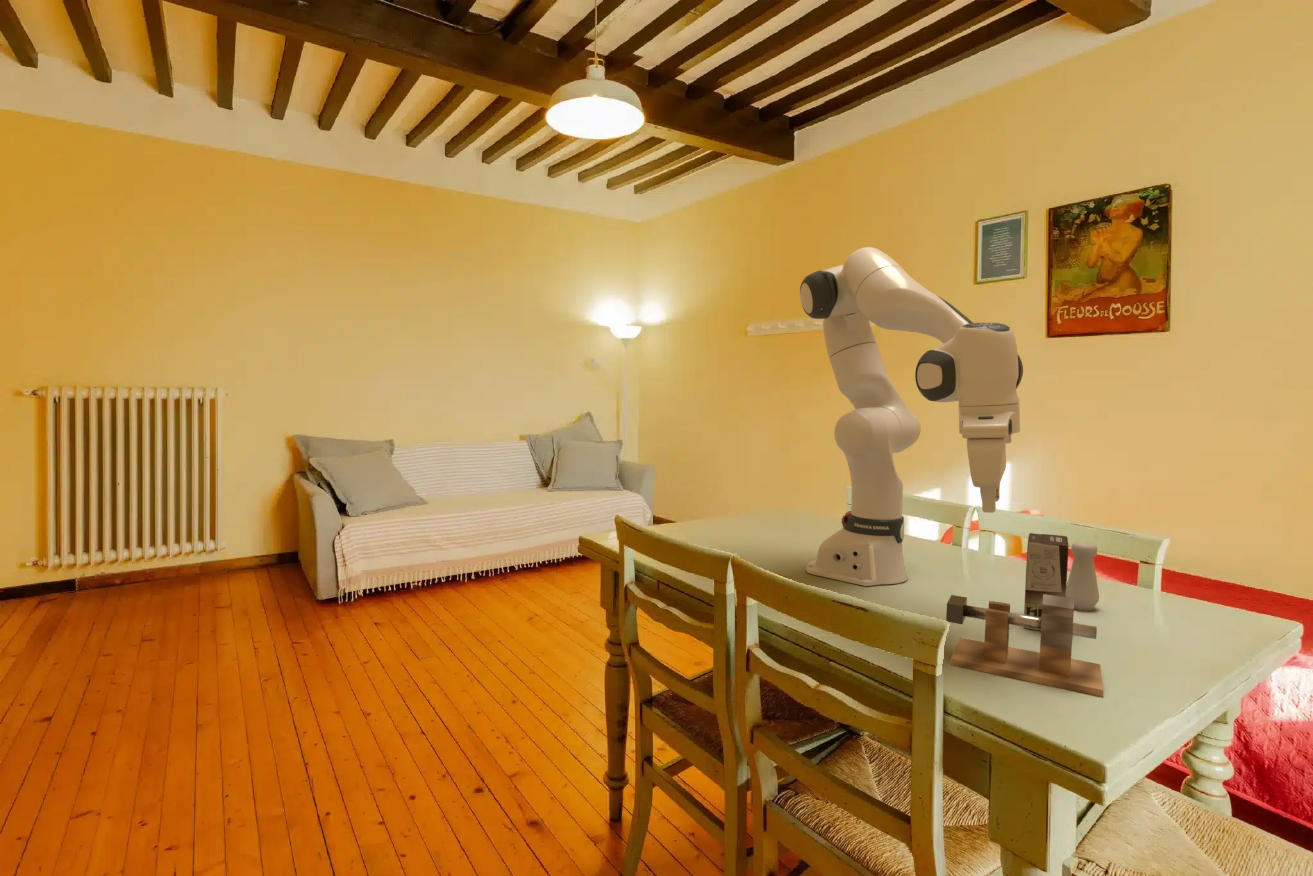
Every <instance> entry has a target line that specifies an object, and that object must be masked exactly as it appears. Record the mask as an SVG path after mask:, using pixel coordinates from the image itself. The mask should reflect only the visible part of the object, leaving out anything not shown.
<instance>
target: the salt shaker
mask: <svg viewBox="0 0 1313 876" xmlns="http://www.w3.org/2000/svg"><path fill="white" fill-rule="evenodd" d="M1070 551H1071V553H1072V554H1073V555H1074V557H1073V559H1072V564H1071V568H1070V571H1069V575H1068V577H1067V586H1066V598H1072V599H1074V608H1075V609H1074V610H1077V611H1083V610H1084V611H1086V612H1091V611H1093V610H1094V608H1095V607H1096V605H1097V604H1098V603H1099V601H1100V594H1099V593H1100V592H1099V586H1098V585H1099V584H1098V579H1097V573H1096V567H1095V561H1094V557H1096V556H1097V555H1098V547H1097V546H1096V545H1095V544H1094V543H1092V542H1087V541H1075V542H1073V543H1072V544H1071V549H1070Z"/></svg>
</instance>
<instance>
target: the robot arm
mask: <svg viewBox="0 0 1313 876" xmlns="http://www.w3.org/2000/svg"><path fill="white" fill-rule="evenodd" d="M799 298H800V303H801V307H802V309H803V311H804V312H805V314H806V315H807V316H808V317H809V318H811V319H813V320H815V319H817V320H823V323H822V327H823V337H824V342H825V347H826V352H827V355H828V359H829V361H830V364H831V369H832V371H833V374H834V378H835V381H836V383H837V388H838V390H839V391H840V393H841V394H842V395H843V396H844V397H846V398H847V399H848V401H850V404H851V405H852V406H853V407H854V409H853V410H851V411H848V412H847V413H845V414H842V416H841V417H839V419H838V420H837V421H836V424H835V426H834V430H833V431H834V433H833V434H834V435H833V436H834V440H835V443H836V445H837V446H838V448H839V449H840V450H841V451H842V452H843V454H844V457H845V460H846V462H847V466H848V470H849V476H850V481H851V499H850V500H851V504H850V505H851V507H850V509H851V510H848V511H846V512H845V514H844V515H843V516H842V518H841V521H840V522H841V525H842V527H843V528H841V529H839V530H838V531H836V532H835V533H833V534H831V536H829V537H828V538H826V539H825V540H823V541H822V542H821V543H820V544H819V547H818V549H817V553H816V558H814V559H812V560H811V561H809V562H808V563H807V564H806V569H805V570H806V572H807V574H809V575H814V576H819V577H823V578H828V579H832V580H837V581H842V582H846V583H849V584H853V585H854V584H855V585H860V586H863V587H871V586H876V585H892V584H893V585H894V584H900V583H903V582H905V581H907V580H908V578H909V577H908V573H907V570H906V566H905V559H904V551H903V542H904V538H905V518H904V516H903V491H904V489H903V488H904V484H903V481H902V479H901V478H900V477H899V475H898V474H897V471H896V467H895V462H894V458H893V457H894V456H893V455H894V454H897V453H900V452H903V451H905V450H906V449H908V448H910V447H911V446H913V445H914V444H915V443H916V442H917V441H918V439H919V437H920V435H921V423H920V419H919V418H918V417H917V415H916V414H915V413H914V412H912V411H911V410H910V409H909V408H908V407H907V405H906V404H905V401H903V398H902V397H901V395H900V394H899V393H898V390H897V389H896V387H895V385H894V384H893V382H892V380H891V379H890V376H889V374H888V372H887V369H886V366H885V364H884V361H883V357H882V355H881V352H880V349H879V345H878V343H877V340H876V338H875V335H874V333H873V330H872V327H871V323H873V324H874V325H875V326H876V327H878V328H880V329H884V330H890V331H900V332H901V331H902V332H909V333H918V334H922V335H927V336H930V337H932V338H935V339H936V340H938V341H940V342H941V343H943V344H942V345H939V346H937V347H935V348H933V349H929V350H927V351H925V353H923V354H922V355H921V356H920V358H919V359H918V361H917V363H916V367H915V371H914V372H915V376H914V377H915V378H914V380H915V384H916V388H917V389H918V391H919V393H920V394H921V396H922V397H924V398H925V399H926V400H927V401H930V402H936V403H951V402H958V428H959V429H958V430H959V433H958V434H960V435H961V436H962V438H963V439H966V447H967V449H966V450H967V457H968V459H967V460H968V465H969V473H970V478H971V482H972V484H973V487H974V488H979V491H980V492H979V493H980V498H981V505H982V509H981V510H982V511H983V513H987V514H988V513H989V514H992V513H995V511H996V509H997V508H996V507H997V506H996V505H997V504H996V502H999V499H1000V497H1001V496H1000V495H1001V494H1000V488H1001V486H1000V485H1001V482H1002V478H1003V476H1004V473H1005V472H1006V468H1007V451H1006V450H1007V449H1006V445H1007V444H1011V443H1012V435H1014V434H1016V433H1020V431H1021V419H1020V418H1021V417H1020V416H1021V415H1020V411H1021V410H1020V399H1019V396H1018V393H1017V389H1018V387H1019V386H1020V383H1021V381H1022V379H1023V377H1024V376H1023V375H1024V365H1023V362H1022V358H1021V356H1020V355H1019V352H1018V346H1017V342H1016V337H1015V335H1014V331H1013V329H1012V328H1011V327H1010V326H1009V325H1007V324H1004V323H998V322H973V321H972V320H971V319H970V318H968V317H967V316H966V315H965V314H963V312H961V311H960V310H959V309H958V308H956V307H955V306H954V305H953V304H951V303H949V302H948V301H947V300H945V299H943V298H942V297H941V296H938V295H937V294H935V293H934V292H932V291H930V290H929V289H927V288H925V287H924V286H923V285H921V284H920V283H919V282H918V281H916V280H915V279H914V278H913V277H912V276H911V275H909V274H908V273H907V272H906V270H904V268H903V267H902V266H901V265H900V264H899V263H898V262H897V261H896V260H895V259H893V258H892V257H891V256H890V255H889V254H886V253H885V252H884V251H881V250H880V249H879V248H876V247H871V246H866V247H861V248H858V249H856V250H854V251H853V252H852V253H851V254H849V256H848V257H847V258H846V259H845V261H844V263H843V264H840V265H836V266H833V267H832V266H831V267H830V268H827V269H823V270H817V271H814V272H812V273H810V274H808V275H806V276H805V277H804V278H803V280H802V282H801V284H800V288H799ZM870 322H871V323H870Z"/></svg>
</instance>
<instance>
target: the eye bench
mask: <svg viewBox="0 0 1313 876" xmlns="http://www.w3.org/2000/svg"><path fill="white" fill-rule="evenodd" d="M1074 611H1075V609H1074V599H1072V598H1066V597H1059V596H1052V595H1045V594H1043V602H1042V620H1041V631H1040V639H1039V640H1040V643H1039V651H1038V652H1036V651H1033V650H1028V649H1023V648H1016V647H1011V646H1009V638H1010V637H1009V636H1010V635H1009V634H1010V624H1008V612H1010V613H1011V603H1007V602H1006V603H1005V602H1001V601H995V600H989V601H988V607H987V608H986V620H985V621H984V622H985V624H984V625H985V626H984V627H985V628H984V641H980V640H974V639H969V638H963V637H959V638H958V641H957V643H956V645H955V647H954V650H953V652H952V655H951V657H950V666H954V665H957V666H956V667H960V668H964V667H965V669H969V670H973V669H974V671H978V670H980V671H979V672H984V673H989V674H993V675H997V676H1002V677H1008V678H1012V679H1016V680H1021V681H1026V682H1030V683H1036V684H1040V685H1044V686H1048V687H1049V686H1050V687H1053V688H1054V687H1055V688H1060V689H1064V690H1068V691H1073V692H1078V693H1082V694H1088V695H1093V696H1097V697H1101V698H1103V697H1104V685H1103V675H1102V665H1101V664H1100V663H1095V662H1092V661H1087V660H1086V661H1084V660H1079V659H1074V658H1072V651H1073V650H1072V649H1073V635H1072V634H1073V623H1074V615H1075V614H1074Z"/></svg>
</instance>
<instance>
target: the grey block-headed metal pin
mask: <svg viewBox="0 0 1313 876" xmlns="http://www.w3.org/2000/svg"><path fill="white" fill-rule="evenodd" d="M986 609H987V608H984V607H979V606H971V605H968V597H966V596H961V595H954V594H951V595H950V597H949V598H948V601H947V603H946V616H945V617H946V618H945V621H948V622H947V623H952V624H958V625H963V624H964V621H965V619H966V617H967V618H973V619H978V620H985V621H986ZM1041 620H1042V618H1040V617H1034V616H1028V615H1024V614H1021V613H1014V612H1011V611H1010V612H1008V624H1009V625H1013V626H1019V627H1023V628H1024V627H1029V628H1035V629H1041ZM1029 628H1028V629H1029ZM1097 631H1098V630H1097V626H1094V625H1088V624H1082V623H1077V622H1076V623H1075V622H1073V634H1072V636H1077V637H1080V638H1081V637H1083V638H1086V639H1087V638H1088V639H1094V640H1096V639H1097V633H1098V632H1097Z"/></svg>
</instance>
